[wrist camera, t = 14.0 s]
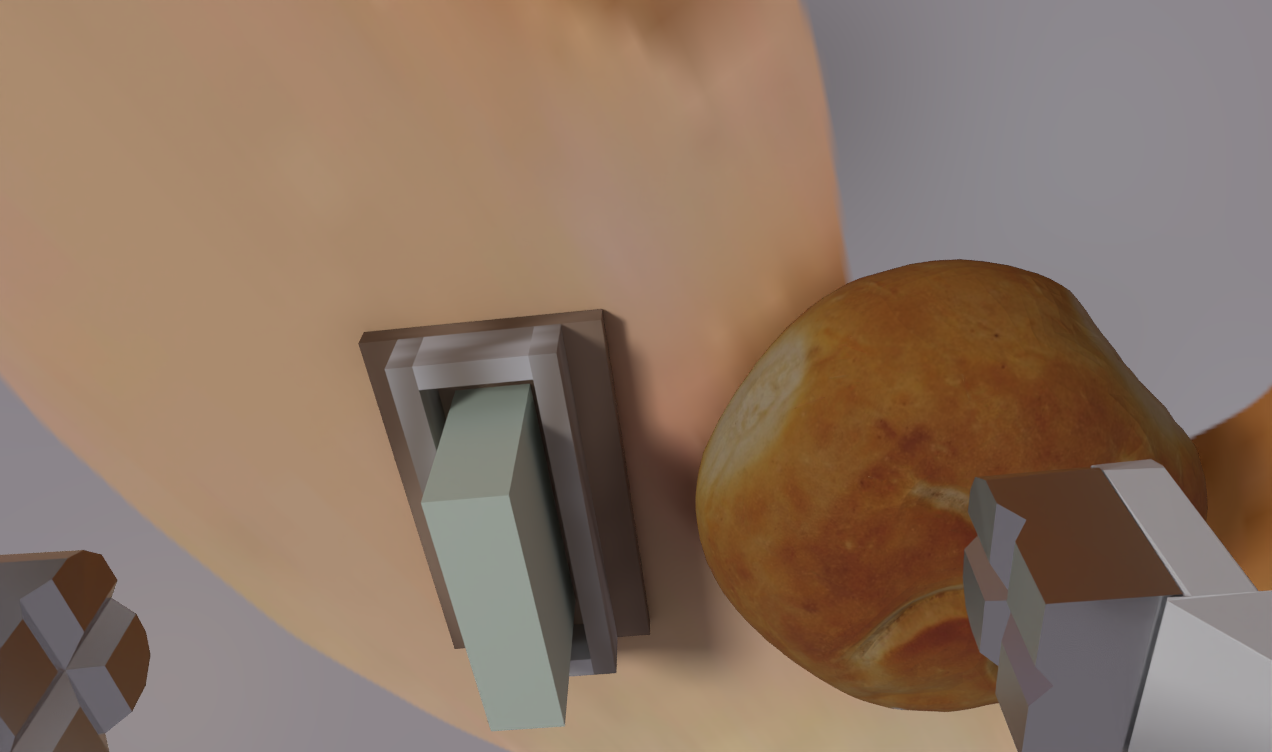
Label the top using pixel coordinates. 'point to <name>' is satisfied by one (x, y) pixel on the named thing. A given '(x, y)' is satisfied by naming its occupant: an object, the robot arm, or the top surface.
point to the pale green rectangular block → (503, 555)
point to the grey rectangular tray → (572, 440)
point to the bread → (908, 466)
